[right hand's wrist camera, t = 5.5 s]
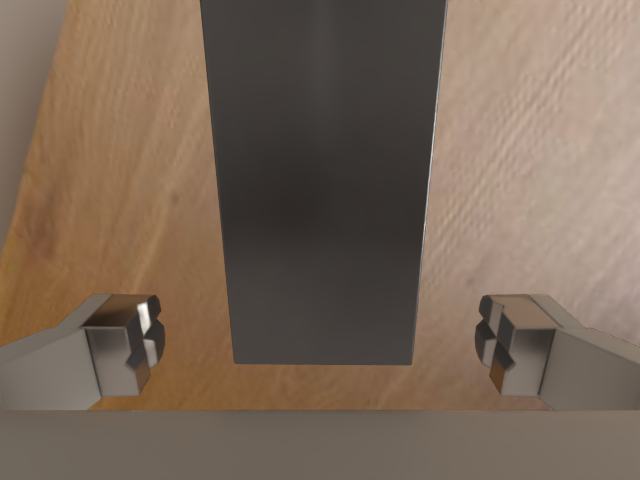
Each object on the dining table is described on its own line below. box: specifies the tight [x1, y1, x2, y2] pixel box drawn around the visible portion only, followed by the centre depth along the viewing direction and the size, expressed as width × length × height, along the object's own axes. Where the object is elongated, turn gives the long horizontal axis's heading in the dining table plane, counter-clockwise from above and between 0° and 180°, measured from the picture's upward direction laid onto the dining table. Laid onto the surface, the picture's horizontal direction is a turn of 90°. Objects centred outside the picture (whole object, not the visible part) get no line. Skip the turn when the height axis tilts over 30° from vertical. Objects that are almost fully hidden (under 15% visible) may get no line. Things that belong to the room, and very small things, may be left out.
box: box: [200, 0, 448, 365], centre depth 14 cm, size 23×6×9 cm, turn 0°
